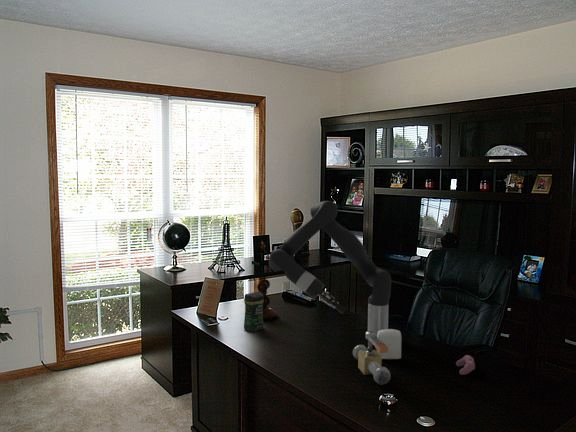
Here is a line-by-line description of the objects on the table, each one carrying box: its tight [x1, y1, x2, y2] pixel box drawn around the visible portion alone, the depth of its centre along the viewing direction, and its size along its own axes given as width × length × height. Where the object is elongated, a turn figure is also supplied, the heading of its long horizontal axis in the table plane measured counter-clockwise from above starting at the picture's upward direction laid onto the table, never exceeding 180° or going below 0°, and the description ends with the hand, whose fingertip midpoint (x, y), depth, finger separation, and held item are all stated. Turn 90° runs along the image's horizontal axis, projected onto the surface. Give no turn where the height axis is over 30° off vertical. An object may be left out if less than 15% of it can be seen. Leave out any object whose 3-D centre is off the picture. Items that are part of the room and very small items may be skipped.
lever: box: [365, 330, 388, 353], centre depth 183 cm, size 17×4×2 cm, turn 10°
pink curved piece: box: [455, 354, 476, 376], centre depth 190 cm, size 10×5×7 cm, turn 169°
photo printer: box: [376, 328, 402, 360], centre depth 203 cm, size 10×4×12 cm, turn 90°
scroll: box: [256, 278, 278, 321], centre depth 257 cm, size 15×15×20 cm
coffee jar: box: [243, 290, 265, 333], centre depth 237 cm, size 10×8×19 cm
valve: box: [352, 340, 392, 386], centre depth 189 cm, size 24×7×13 cm, turn 12°
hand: (344, 311), depth 190 cm, fingers closed
